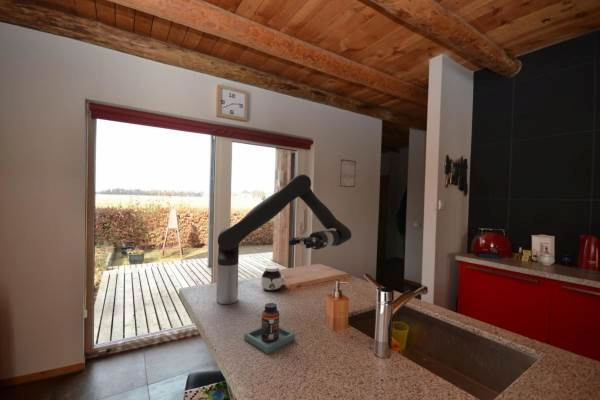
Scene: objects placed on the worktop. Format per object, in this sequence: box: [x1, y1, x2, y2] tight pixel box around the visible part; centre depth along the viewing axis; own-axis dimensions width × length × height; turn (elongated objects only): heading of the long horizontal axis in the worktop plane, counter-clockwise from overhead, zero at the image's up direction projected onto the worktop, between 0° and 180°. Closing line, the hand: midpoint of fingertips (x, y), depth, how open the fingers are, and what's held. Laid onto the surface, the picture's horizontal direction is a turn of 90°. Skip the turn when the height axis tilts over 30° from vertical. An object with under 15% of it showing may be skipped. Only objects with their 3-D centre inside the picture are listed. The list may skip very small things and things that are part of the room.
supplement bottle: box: [260, 302, 280, 342], centre depth 92 cm, size 6×6×11 cm
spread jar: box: [261, 265, 287, 292], centre depth 145 cm, size 12×11×12 cm
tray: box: [243, 325, 296, 356], centre depth 92 cm, size 12×12×2 cm
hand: (297, 244), depth 107 cm, fingers open, 8 cm apart
